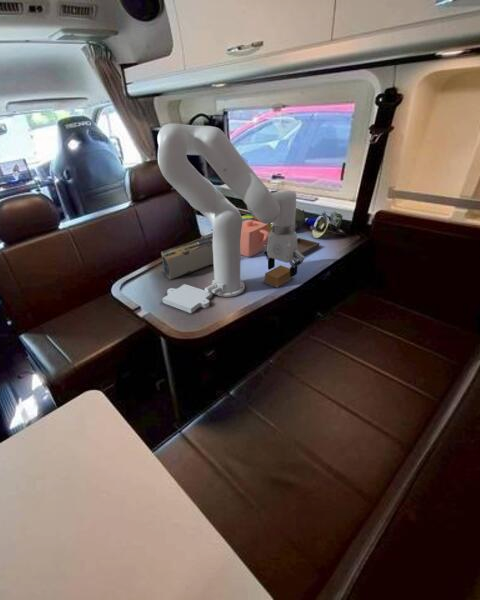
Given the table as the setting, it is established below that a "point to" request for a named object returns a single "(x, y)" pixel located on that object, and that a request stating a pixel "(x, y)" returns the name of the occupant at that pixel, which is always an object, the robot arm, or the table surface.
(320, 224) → the cream rimmed round part
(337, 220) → the toy vehicle
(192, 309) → the mounting plate
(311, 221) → the figurine
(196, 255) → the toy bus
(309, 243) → the brown wooden tray
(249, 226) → the pink jerry can
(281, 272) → the tan rectangular block
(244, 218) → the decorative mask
